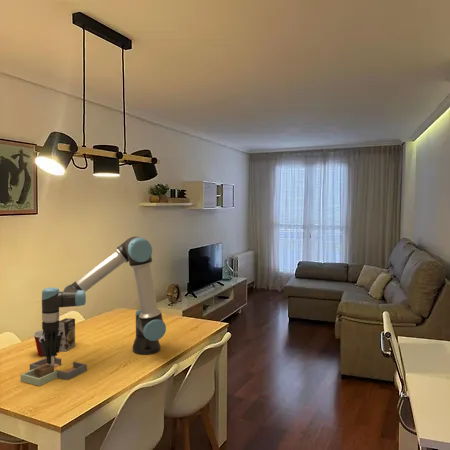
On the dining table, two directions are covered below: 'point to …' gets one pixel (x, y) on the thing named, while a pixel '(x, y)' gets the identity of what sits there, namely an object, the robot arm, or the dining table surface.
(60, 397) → the dining table surface
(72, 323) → the coffee box
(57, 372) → the channel
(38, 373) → the walnut block
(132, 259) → the robot arm
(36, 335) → the plastic cup
